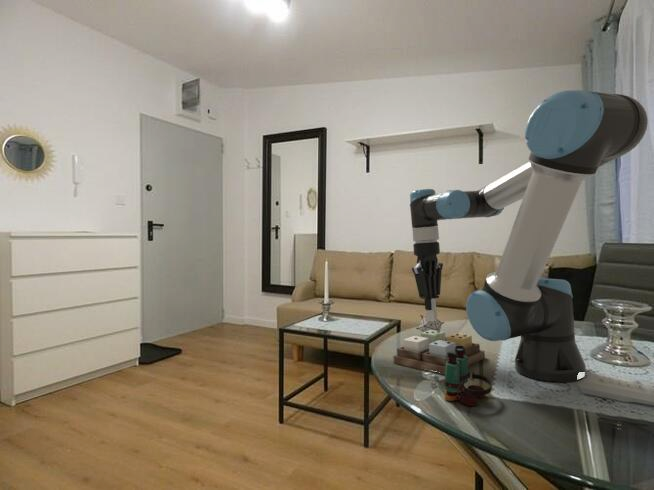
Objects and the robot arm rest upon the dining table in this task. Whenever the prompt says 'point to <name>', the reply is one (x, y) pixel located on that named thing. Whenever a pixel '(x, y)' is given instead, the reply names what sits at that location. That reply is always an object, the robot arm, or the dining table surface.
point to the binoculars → (462, 379)
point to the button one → (416, 344)
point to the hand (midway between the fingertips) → (431, 320)
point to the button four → (460, 340)
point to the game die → (429, 325)
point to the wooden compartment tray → (434, 358)
